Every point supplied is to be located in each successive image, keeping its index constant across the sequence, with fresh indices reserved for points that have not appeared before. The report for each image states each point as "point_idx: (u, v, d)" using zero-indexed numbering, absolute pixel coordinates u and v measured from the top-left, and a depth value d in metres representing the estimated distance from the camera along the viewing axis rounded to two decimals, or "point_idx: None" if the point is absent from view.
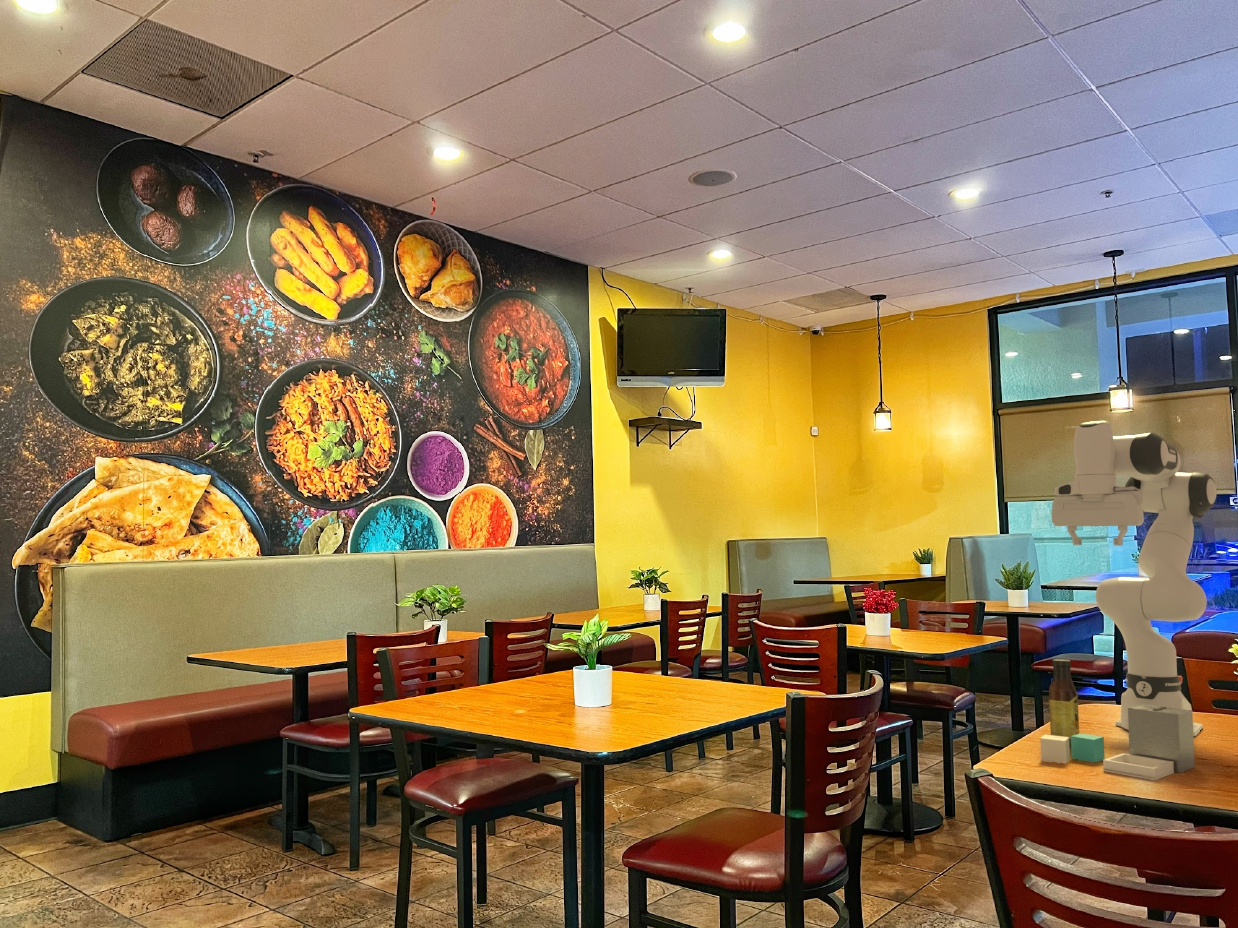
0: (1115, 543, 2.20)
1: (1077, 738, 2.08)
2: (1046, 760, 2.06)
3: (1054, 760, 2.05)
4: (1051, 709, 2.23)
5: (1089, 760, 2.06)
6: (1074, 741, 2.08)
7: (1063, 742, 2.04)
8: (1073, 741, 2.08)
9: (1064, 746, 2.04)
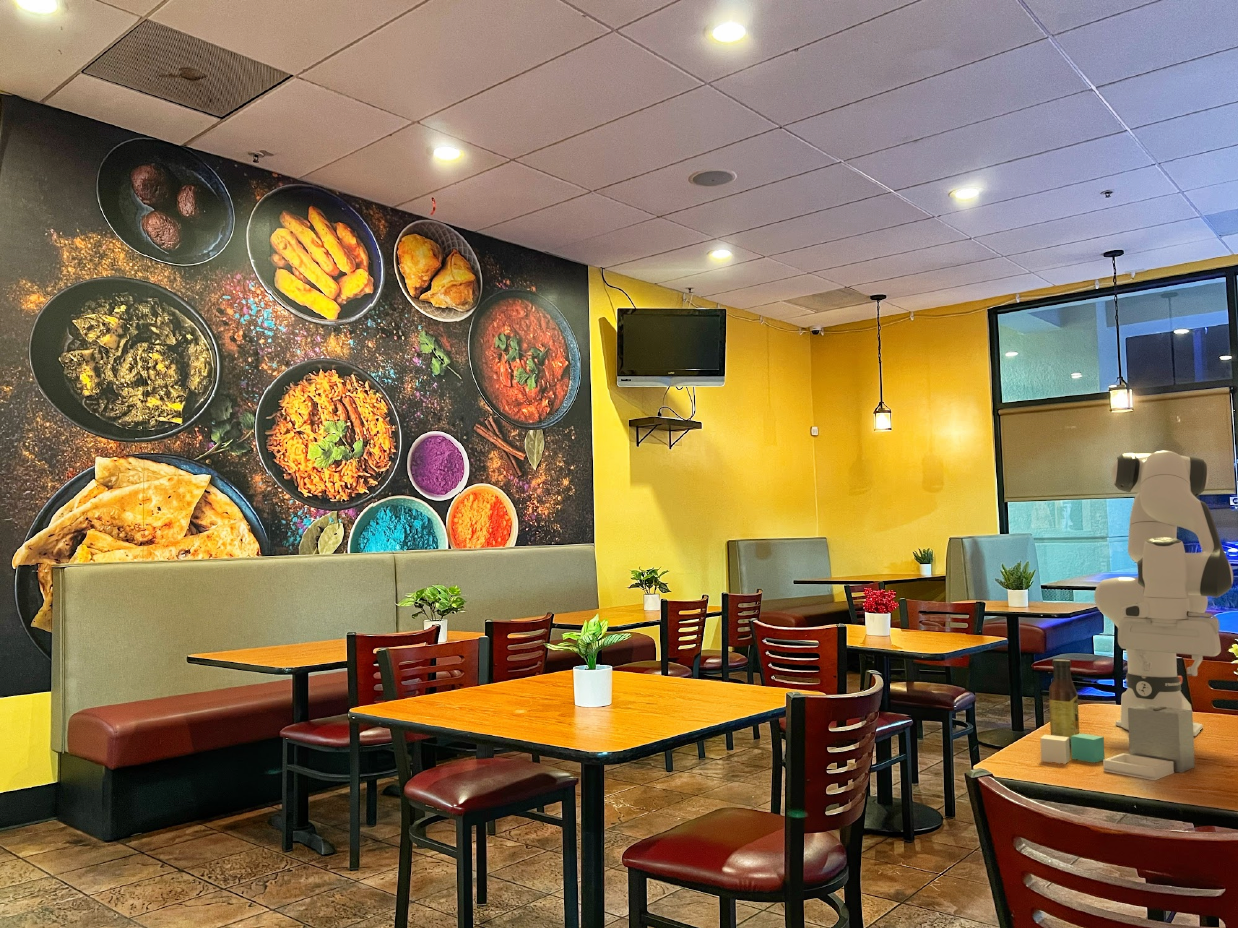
0: (1189, 673, 2.04)
1: (1077, 738, 2.08)
2: (1046, 760, 2.06)
3: (1054, 760, 2.05)
4: (1051, 709, 2.23)
5: (1089, 760, 2.06)
6: (1074, 741, 2.08)
7: (1063, 742, 2.04)
8: (1073, 741, 2.08)
9: (1064, 746, 2.04)
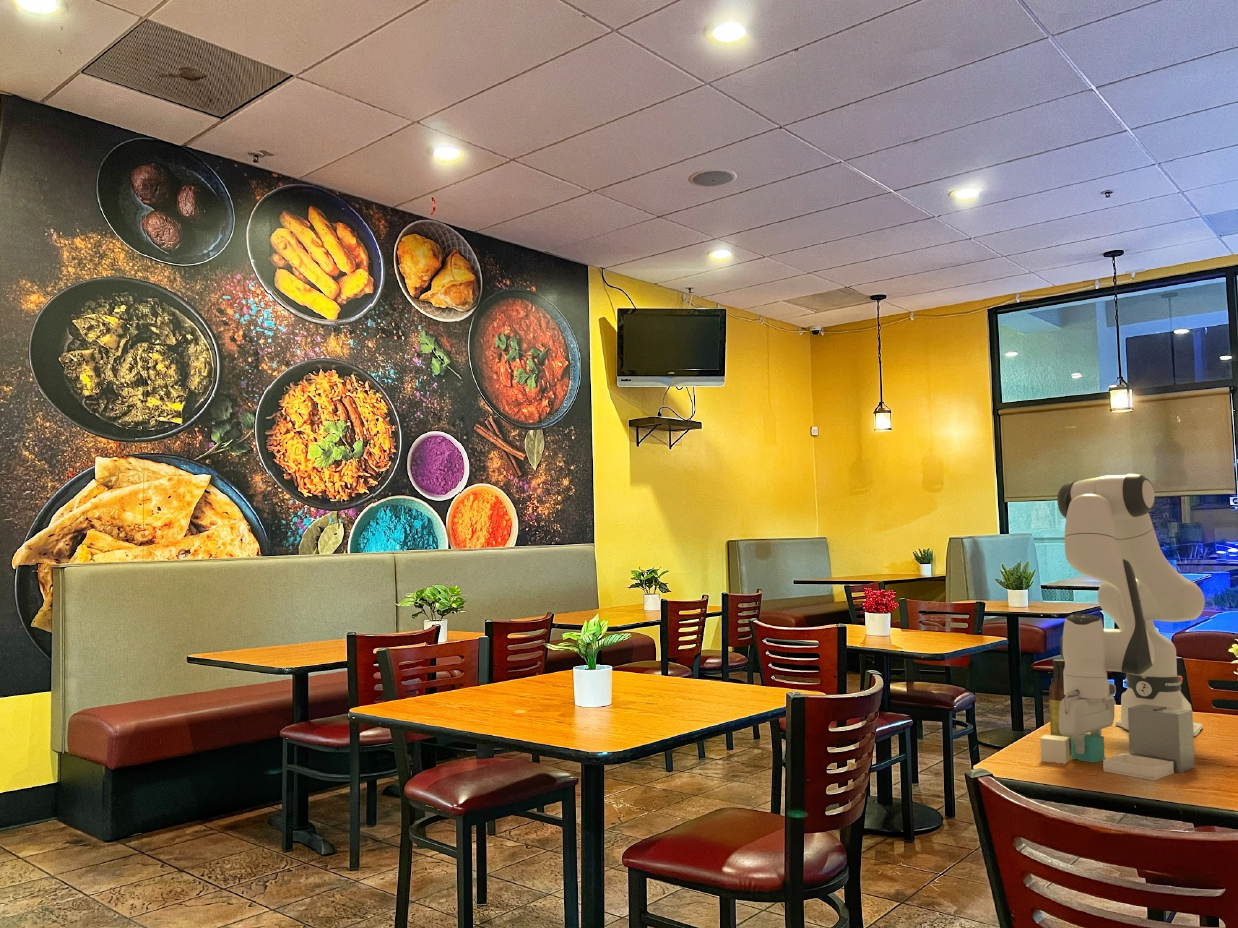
0: None
1: None
2: (1046, 760, 2.06)
3: (1054, 760, 2.05)
4: (1051, 709, 2.23)
5: (1089, 760, 2.06)
6: None
7: (1063, 742, 2.04)
8: (1073, 741, 2.08)
9: (1064, 746, 2.04)
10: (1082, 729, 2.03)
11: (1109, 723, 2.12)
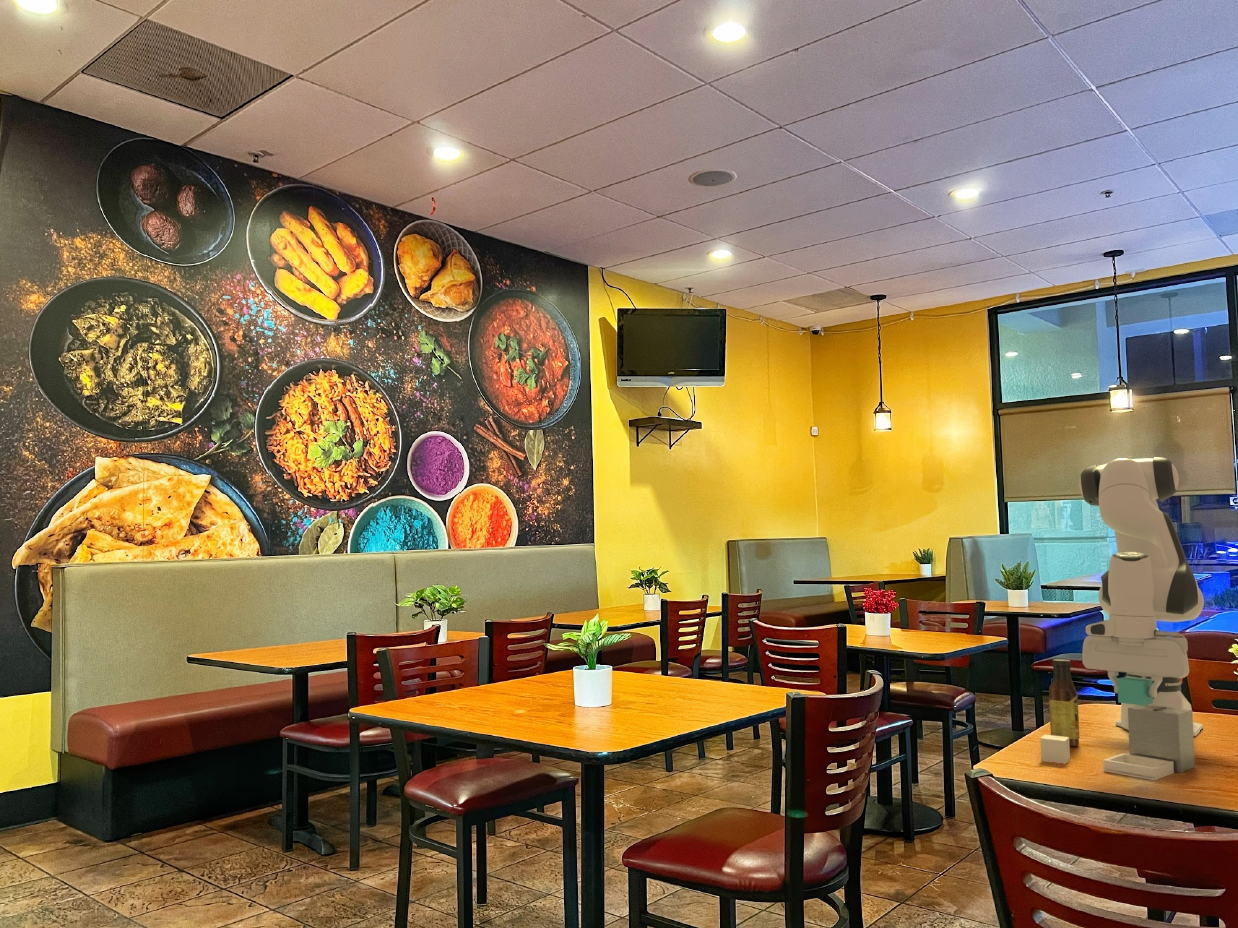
0: (1148, 694, 1.95)
1: (1145, 682, 1.96)
2: (1046, 760, 2.06)
3: (1054, 760, 2.05)
4: (1051, 709, 2.23)
5: (1151, 701, 1.97)
6: (1144, 686, 1.95)
7: (1063, 742, 2.04)
8: (1143, 686, 1.95)
9: (1064, 746, 2.04)
10: None
11: None
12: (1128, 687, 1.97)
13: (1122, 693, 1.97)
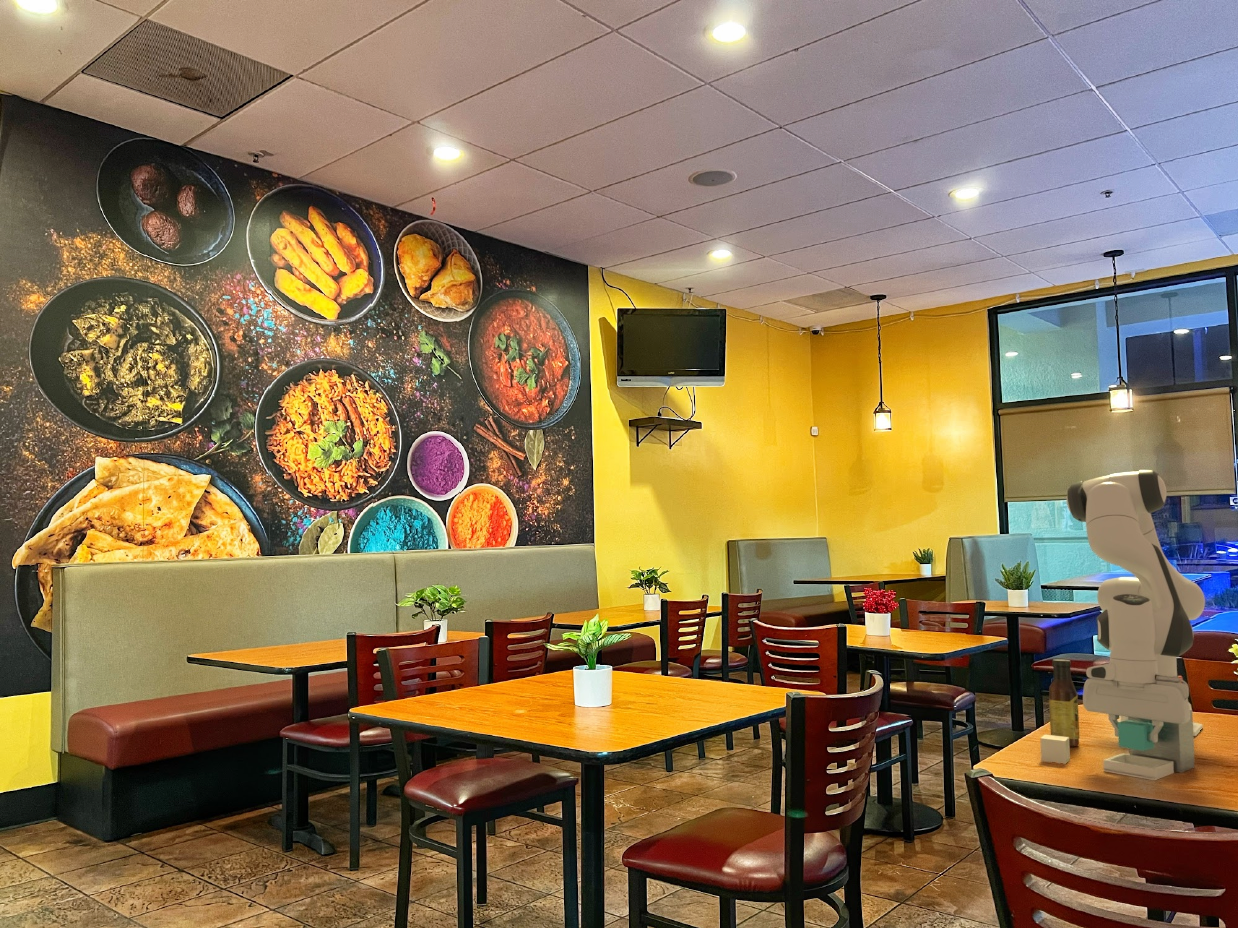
0: (1149, 739, 1.94)
1: (1146, 726, 1.95)
2: (1046, 760, 2.06)
3: (1054, 760, 2.05)
4: (1051, 709, 2.23)
5: (1151, 746, 1.96)
6: (1145, 730, 1.94)
7: (1063, 742, 2.04)
8: (1144, 731, 1.94)
9: (1064, 746, 2.04)
10: None
11: None
12: (1128, 732, 1.96)
13: (1123, 737, 1.97)
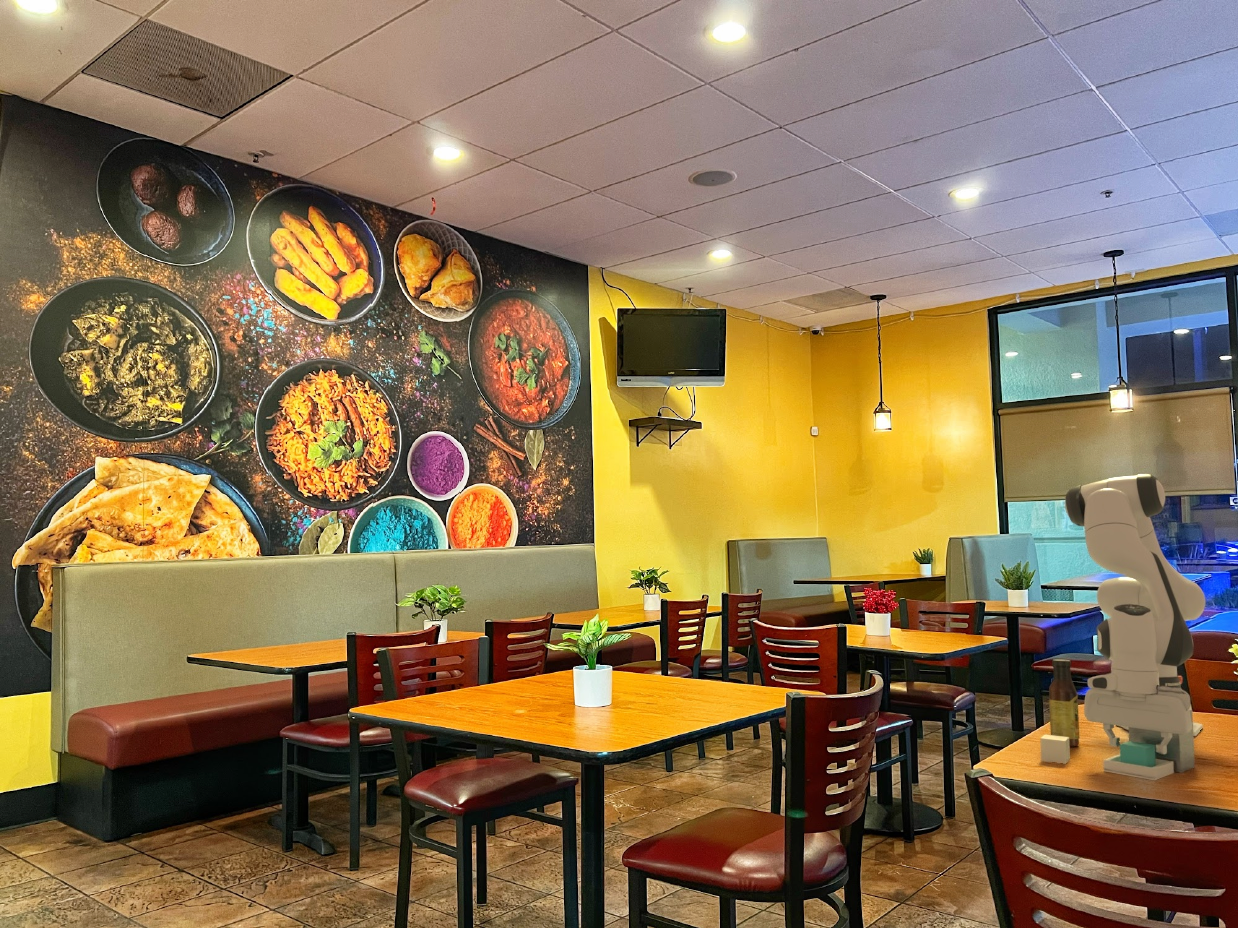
0: (1158, 751, 1.93)
1: (1148, 748, 1.94)
2: (1046, 760, 2.06)
3: (1054, 760, 2.05)
4: (1051, 709, 2.23)
5: None
6: (1147, 752, 1.94)
7: (1063, 742, 2.04)
8: (1146, 753, 1.94)
9: (1064, 746, 2.04)
10: None
11: None
12: (1130, 753, 1.96)
13: (1125, 759, 1.96)
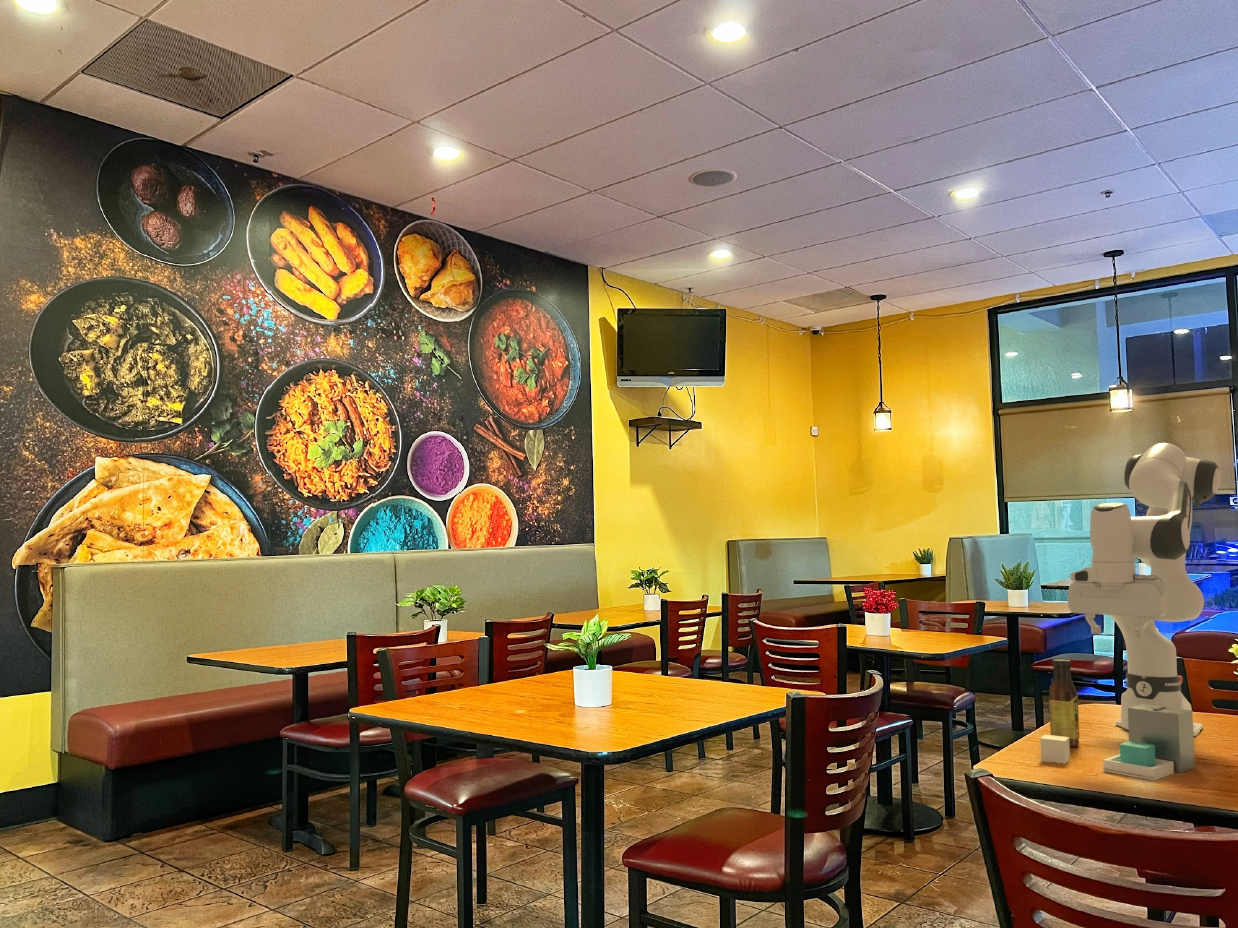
0: (1137, 634, 2.09)
1: (1148, 748, 1.94)
2: (1046, 760, 2.06)
3: (1054, 760, 2.05)
4: (1051, 709, 2.23)
5: None
6: (1147, 752, 1.94)
7: (1063, 742, 2.04)
8: (1146, 753, 1.94)
9: (1064, 746, 2.04)
10: None
11: None
12: (1130, 753, 1.96)
13: (1125, 759, 1.96)
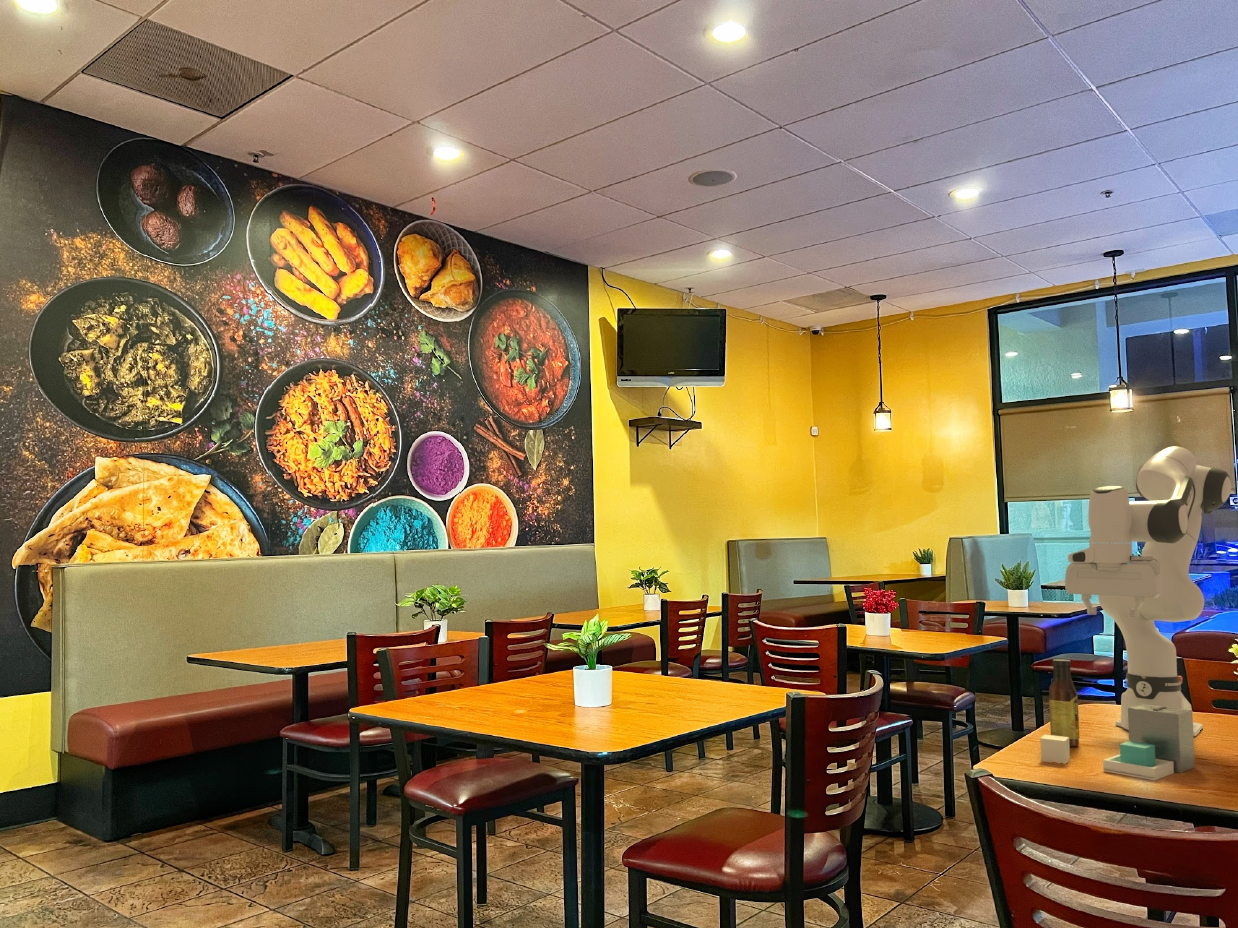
0: (1131, 615, 2.12)
1: (1148, 748, 1.94)
2: (1046, 760, 2.06)
3: (1054, 760, 2.05)
4: (1051, 709, 2.23)
5: None
6: (1147, 752, 1.94)
7: (1063, 742, 2.04)
8: (1146, 753, 1.94)
9: (1064, 746, 2.04)
10: None
11: None
12: (1130, 753, 1.96)
13: (1125, 759, 1.96)
